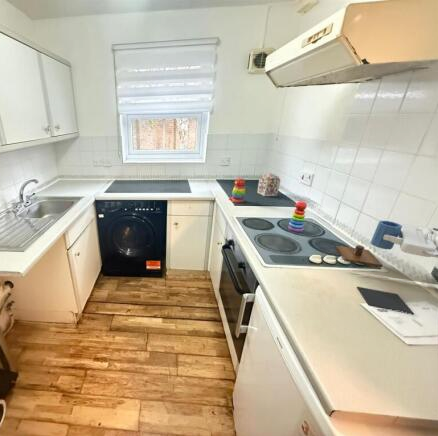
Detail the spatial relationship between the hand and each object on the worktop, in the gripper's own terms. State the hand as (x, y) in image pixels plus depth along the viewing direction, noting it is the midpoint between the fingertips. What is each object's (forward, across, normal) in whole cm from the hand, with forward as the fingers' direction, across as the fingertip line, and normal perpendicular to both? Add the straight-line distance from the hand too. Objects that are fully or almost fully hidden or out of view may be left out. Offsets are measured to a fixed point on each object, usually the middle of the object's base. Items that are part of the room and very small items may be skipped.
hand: (383, 232), depth 89 cm
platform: (+4, +13, -20) cm, 24 cm away
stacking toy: (+31, +26, -20) cm, 45 cm away
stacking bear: (+78, +60, -20) cm, 100 cm away
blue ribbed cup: (-1, 0, -5) cm, 5 cm away
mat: (-5, -14, -20) cm, 25 cm away
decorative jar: (+65, +92, -21) cm, 115 cm away
